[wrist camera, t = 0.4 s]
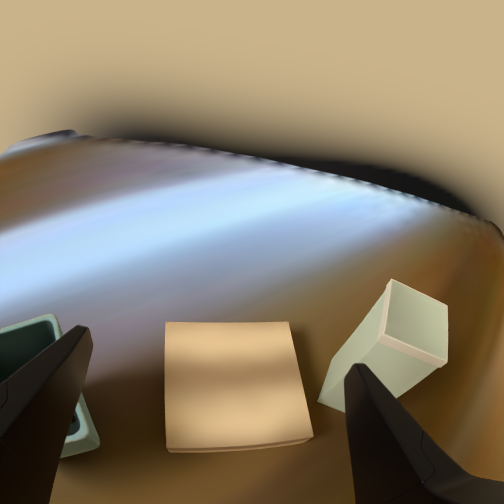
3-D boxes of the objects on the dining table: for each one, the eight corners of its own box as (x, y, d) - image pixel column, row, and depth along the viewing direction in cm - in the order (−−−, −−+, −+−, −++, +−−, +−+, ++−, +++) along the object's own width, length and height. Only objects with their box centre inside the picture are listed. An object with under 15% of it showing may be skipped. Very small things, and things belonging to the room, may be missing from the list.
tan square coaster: (301, 443, 23) (313, 436, 20) (169, 453, 20) (166, 447, 18) (280, 337, 30) (288, 321, 28) (167, 338, 28) (165, 321, 26)
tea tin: (364, 420, 24) (447, 362, 16) (315, 402, 25) (382, 334, 17) (375, 375, 28) (447, 305, 20) (331, 357, 29) (391, 278, 21)
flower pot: (87, 366, 23) (54, 309, 17) (123, 457, 19) (91, 435, 12) (8, 390, 19) (-43, 340, 13) (34, 481, 14) (-27, 462, 8)
